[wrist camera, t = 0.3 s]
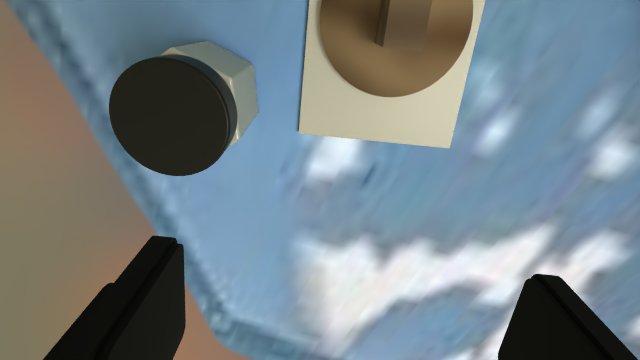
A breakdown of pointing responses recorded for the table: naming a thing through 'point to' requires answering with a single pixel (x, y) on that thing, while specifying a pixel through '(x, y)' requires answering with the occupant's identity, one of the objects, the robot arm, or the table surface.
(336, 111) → the placemat
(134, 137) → the jar
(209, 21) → the table surface
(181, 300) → the robot arm
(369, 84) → the lid
